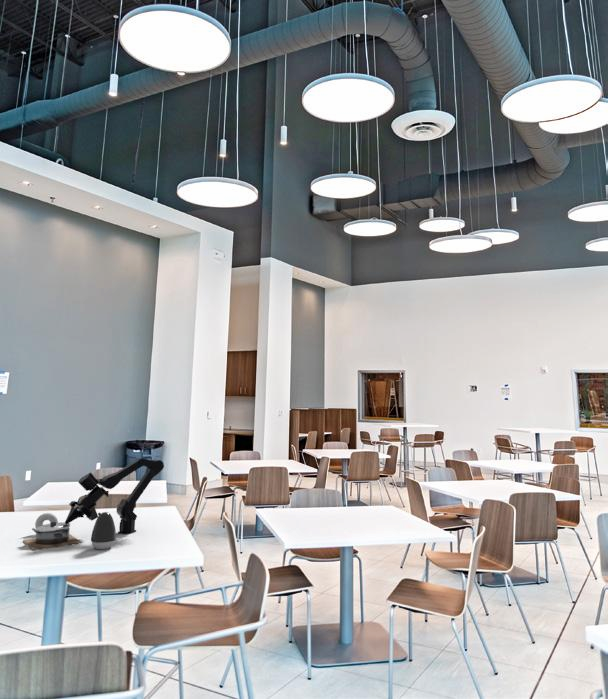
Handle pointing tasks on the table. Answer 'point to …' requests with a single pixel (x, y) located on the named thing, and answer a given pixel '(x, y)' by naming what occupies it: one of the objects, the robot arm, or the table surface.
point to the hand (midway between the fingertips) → (65, 523)
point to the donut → (44, 517)
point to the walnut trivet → (35, 546)
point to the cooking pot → (52, 537)
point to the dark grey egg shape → (103, 531)
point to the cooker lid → (51, 527)
